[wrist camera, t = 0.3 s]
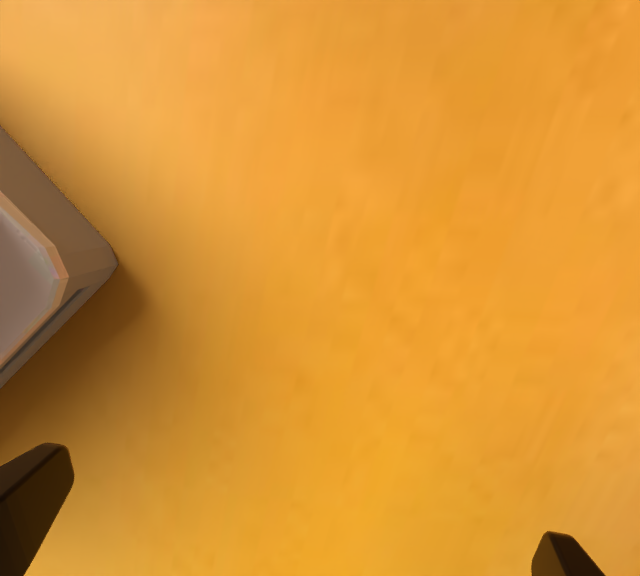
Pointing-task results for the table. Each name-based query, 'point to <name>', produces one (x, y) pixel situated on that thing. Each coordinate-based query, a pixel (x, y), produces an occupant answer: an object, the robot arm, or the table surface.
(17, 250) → the instant camera
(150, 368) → the table surface
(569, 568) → the robot arm
